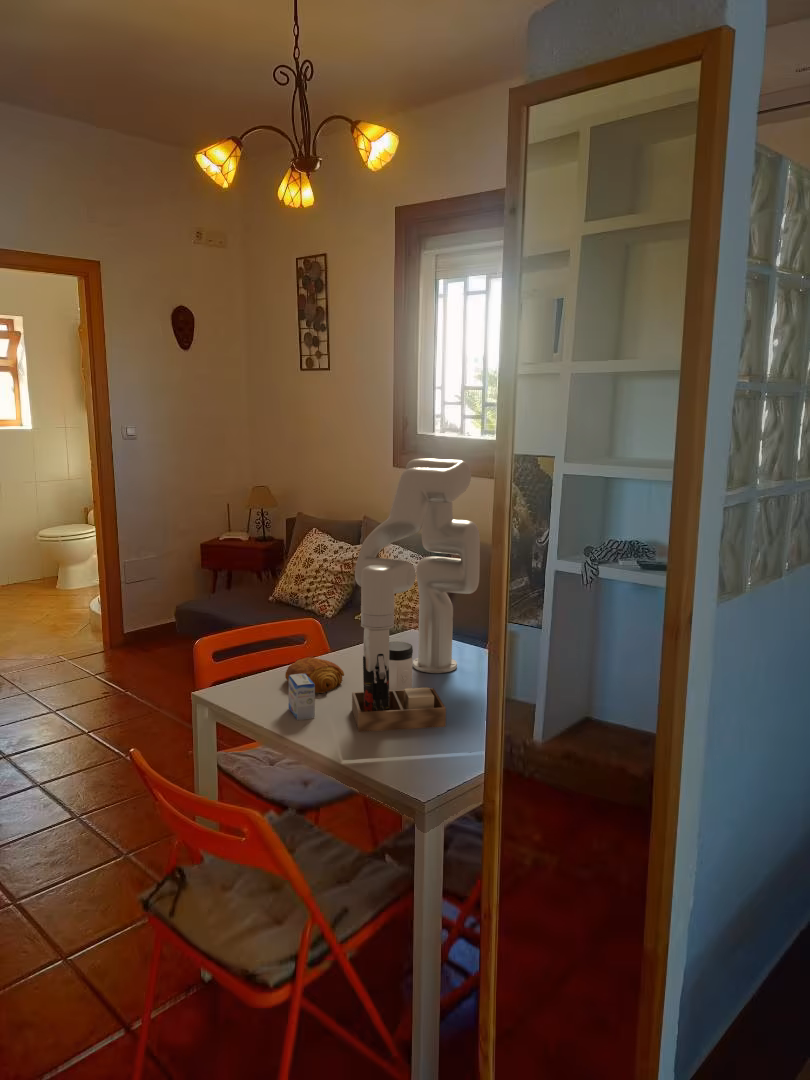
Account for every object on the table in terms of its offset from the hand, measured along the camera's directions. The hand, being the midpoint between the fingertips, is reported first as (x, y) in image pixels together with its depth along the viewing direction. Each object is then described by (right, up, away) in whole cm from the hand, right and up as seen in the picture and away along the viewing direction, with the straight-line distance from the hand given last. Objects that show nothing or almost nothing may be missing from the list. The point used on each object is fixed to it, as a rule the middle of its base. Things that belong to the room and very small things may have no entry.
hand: (376, 692), depth 183 cm
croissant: (-17, -3, +25) cm, 31 cm away
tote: (+5, -7, +2) cm, 9 cm away
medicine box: (-18, -6, +5) cm, 20 cm away
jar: (+4, -4, +22) cm, 22 cm away
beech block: (+10, -6, +3) cm, 12 cm away
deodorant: (0, -7, +1) cm, 7 cm away
